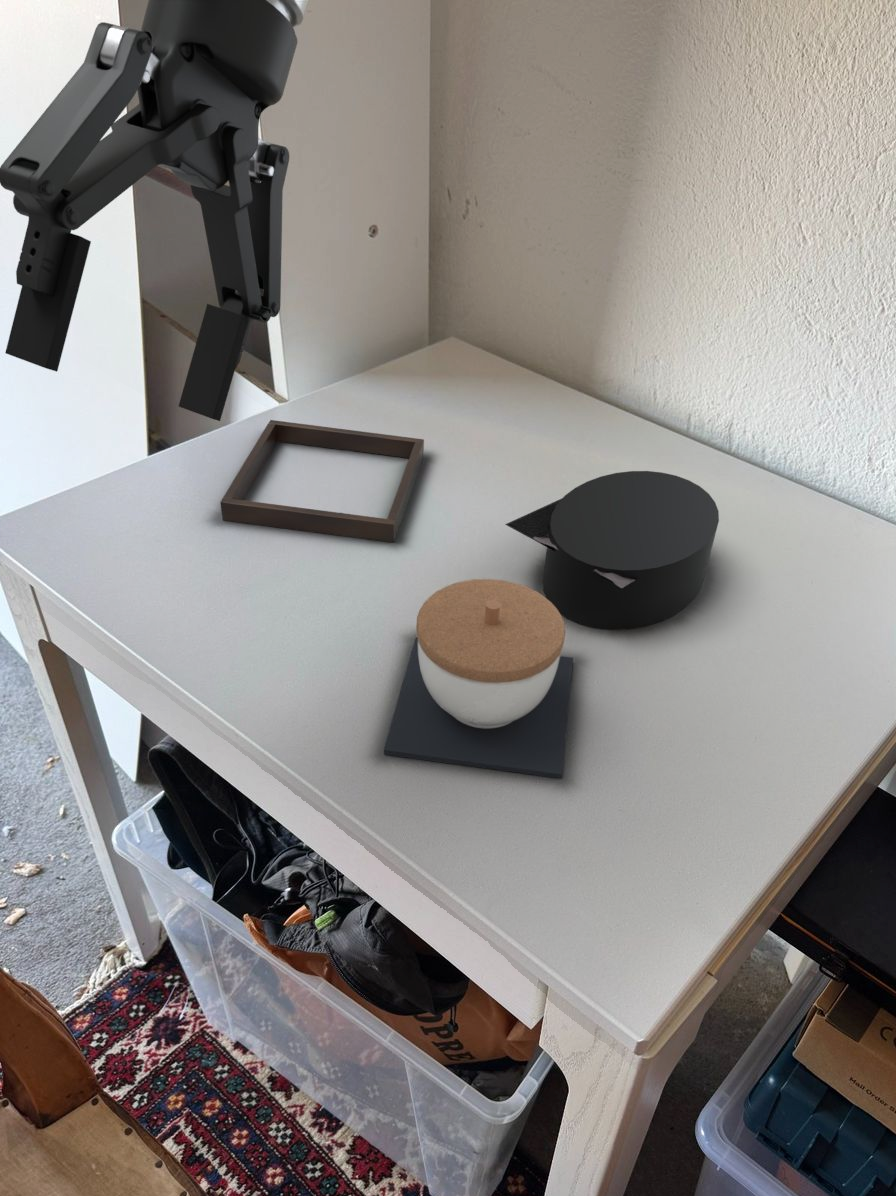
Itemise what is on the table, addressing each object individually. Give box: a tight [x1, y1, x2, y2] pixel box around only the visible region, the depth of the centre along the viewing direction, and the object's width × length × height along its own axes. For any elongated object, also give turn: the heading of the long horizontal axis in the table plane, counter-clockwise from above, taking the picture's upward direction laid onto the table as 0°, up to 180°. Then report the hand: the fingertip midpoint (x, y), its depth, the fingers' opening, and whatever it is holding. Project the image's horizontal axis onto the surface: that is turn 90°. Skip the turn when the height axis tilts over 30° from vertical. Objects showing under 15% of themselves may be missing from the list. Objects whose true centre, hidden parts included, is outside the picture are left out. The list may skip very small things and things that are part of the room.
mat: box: [383, 636, 574, 779], centre depth 78 cm, size 13×13×1 cm
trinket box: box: [415, 578, 566, 729], centre depth 74 cm, size 11×11×9 cm
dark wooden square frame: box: [219, 419, 425, 543], centre depth 99 cm, size 16×16×2 cm
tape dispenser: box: [504, 470, 720, 631], centre depth 90 cm, size 14×18×8 cm
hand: (124, 391), depth 57 cm, fingers open, 13 cm apart
